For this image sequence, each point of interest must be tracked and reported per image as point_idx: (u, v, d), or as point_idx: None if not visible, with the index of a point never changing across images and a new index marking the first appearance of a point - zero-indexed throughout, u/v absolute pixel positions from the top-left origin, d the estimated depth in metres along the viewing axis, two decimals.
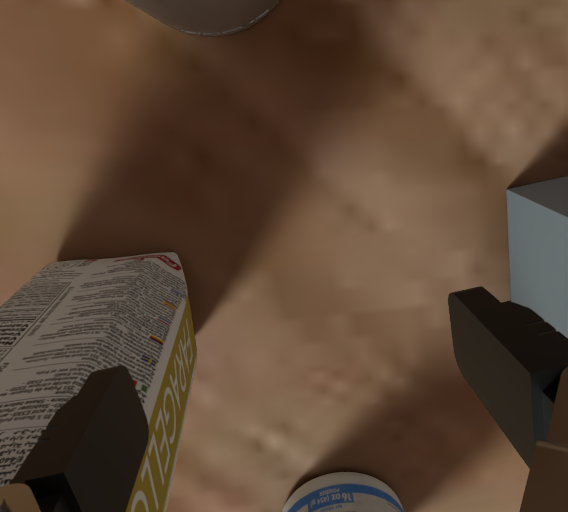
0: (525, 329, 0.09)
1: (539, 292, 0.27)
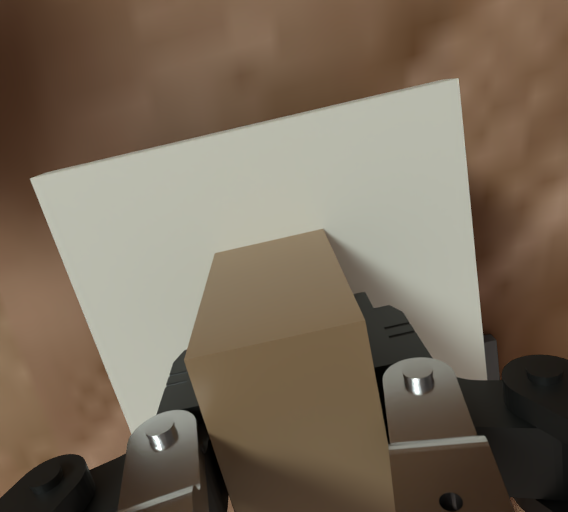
0: (380, 331, 0.10)
1: None
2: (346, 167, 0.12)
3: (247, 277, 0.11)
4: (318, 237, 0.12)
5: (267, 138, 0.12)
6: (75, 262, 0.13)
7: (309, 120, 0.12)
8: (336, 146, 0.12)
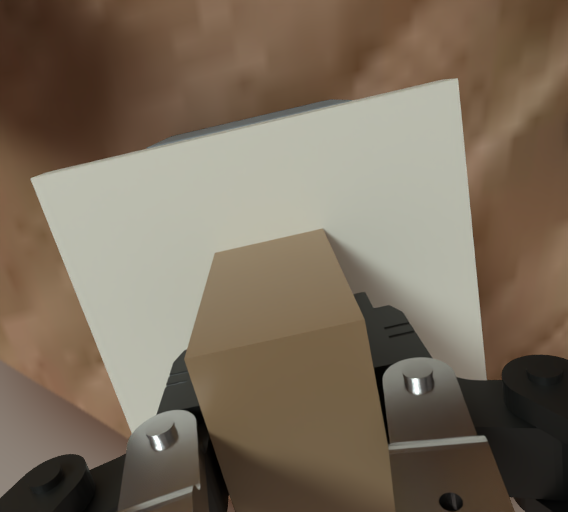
0: (380, 331, 0.10)
1: (244, 121, 0.26)
2: (346, 167, 0.12)
3: (247, 276, 0.11)
4: (318, 237, 0.12)
5: (267, 138, 0.12)
6: (75, 262, 0.13)
7: (309, 120, 0.12)
8: (336, 146, 0.12)
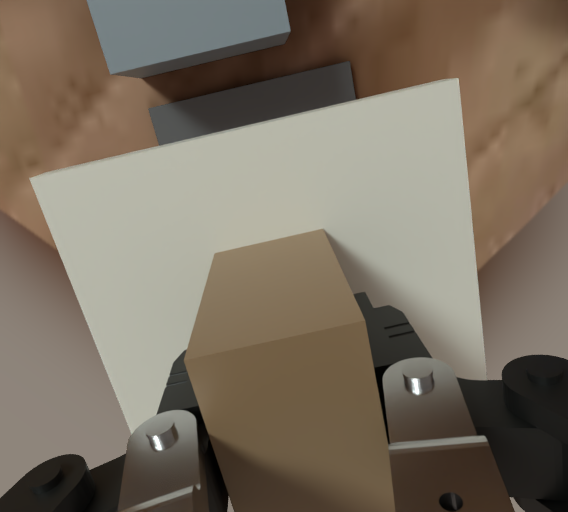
0: (380, 331, 0.10)
1: None
2: (346, 167, 0.12)
3: (247, 277, 0.11)
4: (318, 237, 0.12)
5: (267, 138, 0.12)
6: (75, 262, 0.13)
7: (309, 120, 0.12)
8: (336, 146, 0.12)
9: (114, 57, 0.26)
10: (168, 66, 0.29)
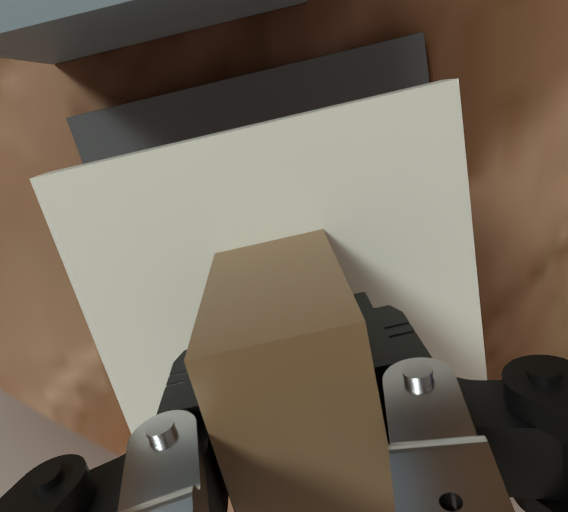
0: (380, 331, 0.10)
1: None
2: (346, 167, 0.12)
3: (247, 277, 0.11)
4: (318, 238, 0.12)
5: (267, 138, 0.12)
6: (75, 262, 0.13)
7: (309, 120, 0.12)
8: (336, 146, 0.12)
9: None
10: (85, 38, 0.15)
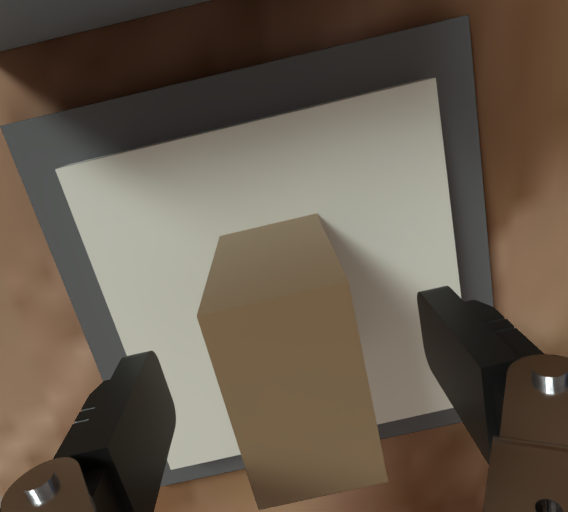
0: (482, 326, 0.09)
1: None
2: (337, 157, 0.14)
3: (249, 253, 0.12)
4: (311, 220, 0.14)
5: (266, 132, 0.14)
6: (95, 244, 0.14)
7: (303, 116, 0.13)
8: (328, 139, 0.14)
9: None
10: (5, 15, 0.10)
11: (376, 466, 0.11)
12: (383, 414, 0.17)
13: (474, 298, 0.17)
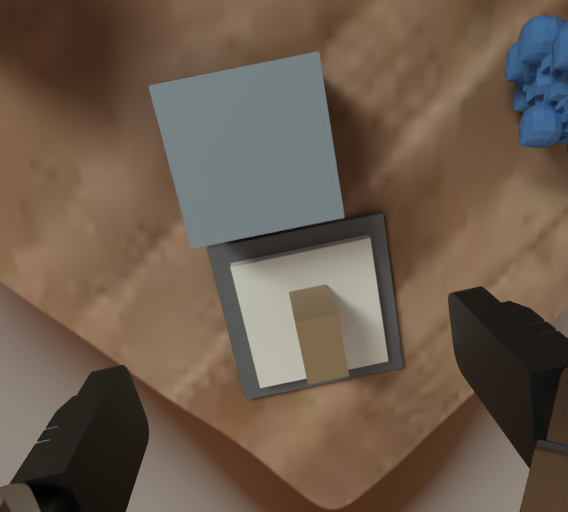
0: (525, 329, 0.09)
1: None
2: (334, 264, 0.37)
3: (303, 301, 0.36)
4: (324, 288, 0.37)
5: (308, 255, 0.37)
6: (241, 294, 0.38)
7: (322, 250, 0.37)
8: (331, 258, 0.37)
9: (196, 236, 0.30)
10: None
11: (345, 370, 0.34)
12: (350, 365, 0.40)
13: (389, 317, 0.40)
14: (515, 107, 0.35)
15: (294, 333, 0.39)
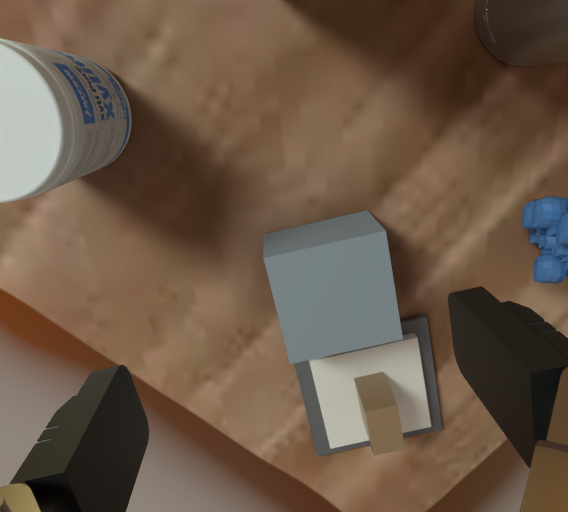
0: (525, 329, 0.09)
1: (315, 233, 0.42)
2: (389, 357, 0.48)
3: (368, 389, 0.46)
4: (382, 376, 0.48)
5: (369, 351, 0.48)
6: (317, 381, 0.49)
7: (380, 347, 0.48)
8: (386, 352, 0.48)
9: (293, 355, 0.41)
10: None
11: (402, 444, 0.45)
12: None
13: (431, 392, 0.51)
14: (530, 240, 0.45)
15: (358, 407, 0.50)
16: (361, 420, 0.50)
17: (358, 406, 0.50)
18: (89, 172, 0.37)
